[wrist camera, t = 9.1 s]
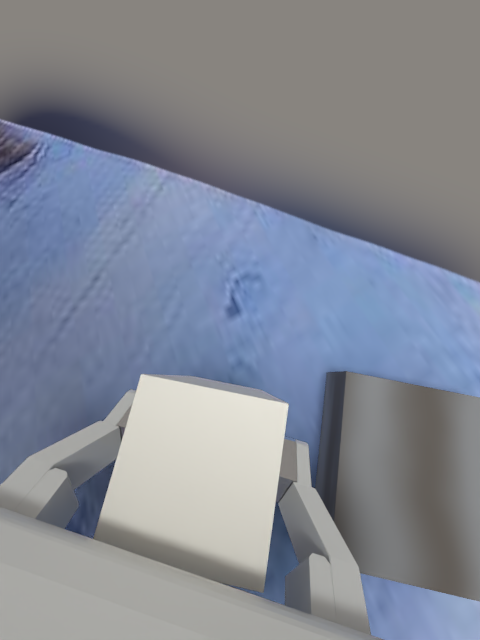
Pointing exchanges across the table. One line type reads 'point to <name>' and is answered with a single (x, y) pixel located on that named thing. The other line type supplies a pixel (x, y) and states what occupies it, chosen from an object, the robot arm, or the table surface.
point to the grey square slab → (403, 480)
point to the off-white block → (197, 478)
